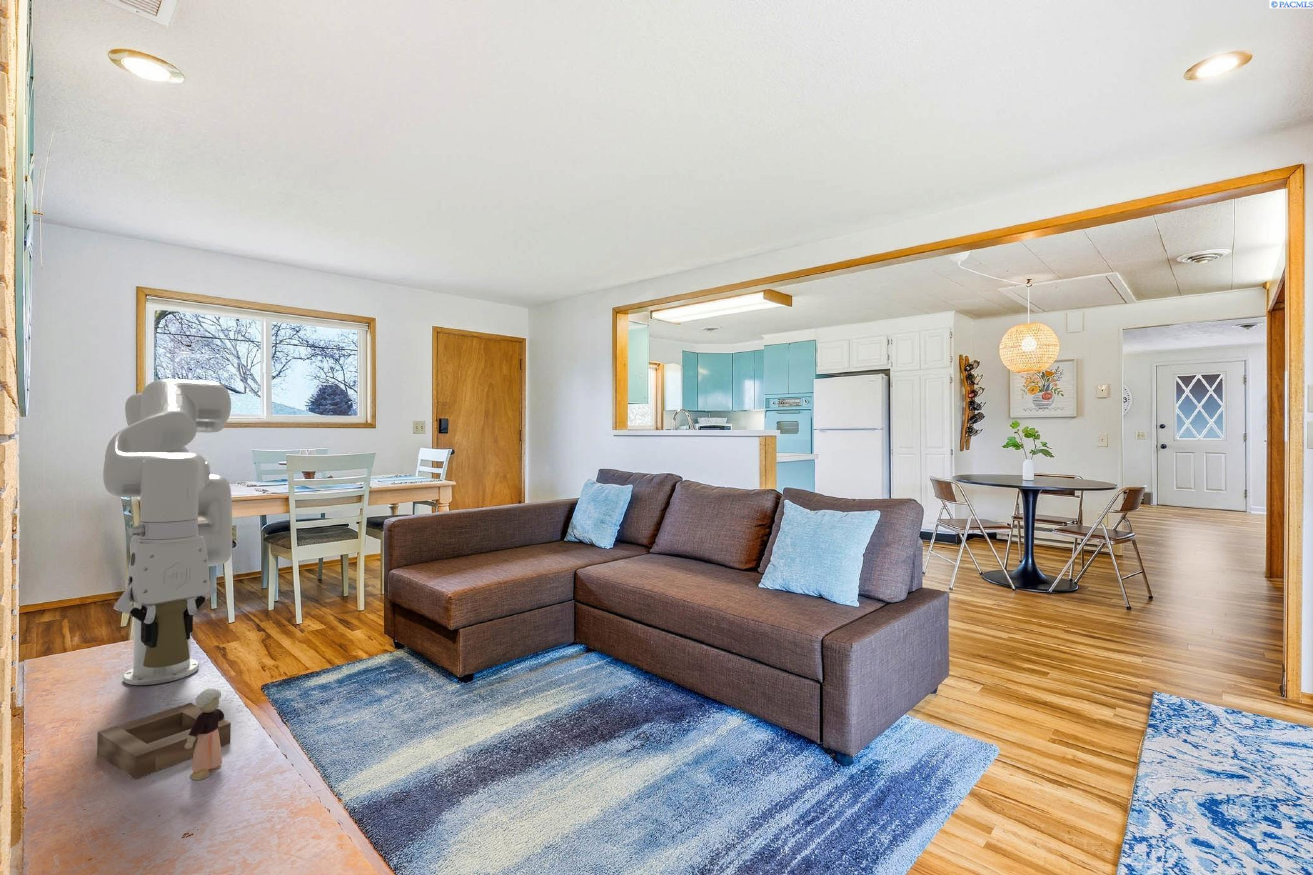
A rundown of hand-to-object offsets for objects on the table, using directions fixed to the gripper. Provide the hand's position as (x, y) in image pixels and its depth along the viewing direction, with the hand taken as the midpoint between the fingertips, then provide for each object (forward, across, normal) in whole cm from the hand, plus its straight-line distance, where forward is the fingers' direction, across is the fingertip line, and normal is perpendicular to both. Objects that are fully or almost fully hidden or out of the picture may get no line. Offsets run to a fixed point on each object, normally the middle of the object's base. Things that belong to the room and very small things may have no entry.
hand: (167, 640), depth 102 cm
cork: (+3, 0, 0) cm, 3 cm away
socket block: (+18, 0, 0) cm, 18 cm away
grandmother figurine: (+18, +1, -13) cm, 22 cm away
